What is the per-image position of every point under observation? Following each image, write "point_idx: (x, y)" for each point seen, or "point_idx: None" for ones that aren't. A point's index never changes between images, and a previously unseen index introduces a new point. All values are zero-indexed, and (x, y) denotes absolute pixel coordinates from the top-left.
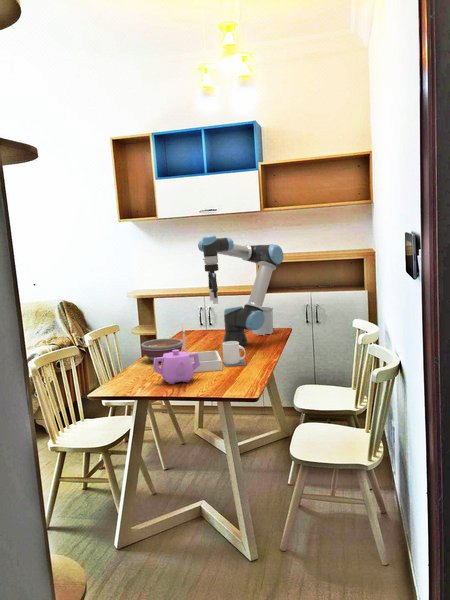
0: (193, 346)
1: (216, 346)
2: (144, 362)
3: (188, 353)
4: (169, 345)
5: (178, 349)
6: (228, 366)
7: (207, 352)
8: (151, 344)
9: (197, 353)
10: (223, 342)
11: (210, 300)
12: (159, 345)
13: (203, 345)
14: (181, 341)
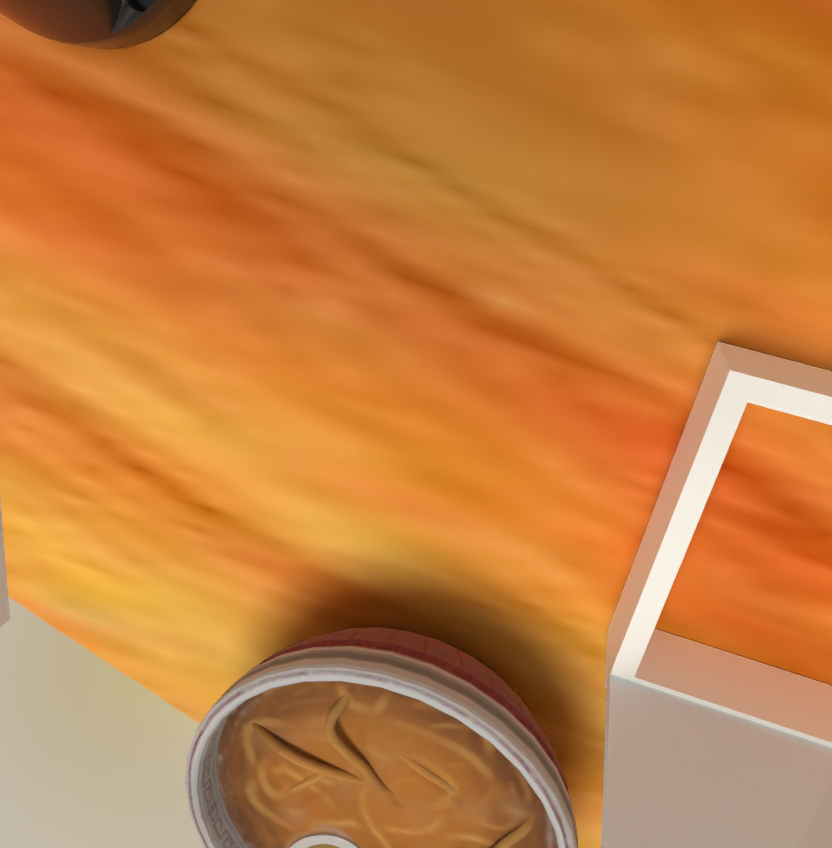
0: (13, 338)
1: (95, 131)
2: None
3: (643, 653)
4: None
5: (528, 720)
6: None
7: (711, 480)
8: (254, 837)
9: (674, 574)
10: (80, 43)
11: (1, 617)
12: (337, 814)
13: (2, 239)
14: (439, 706)
